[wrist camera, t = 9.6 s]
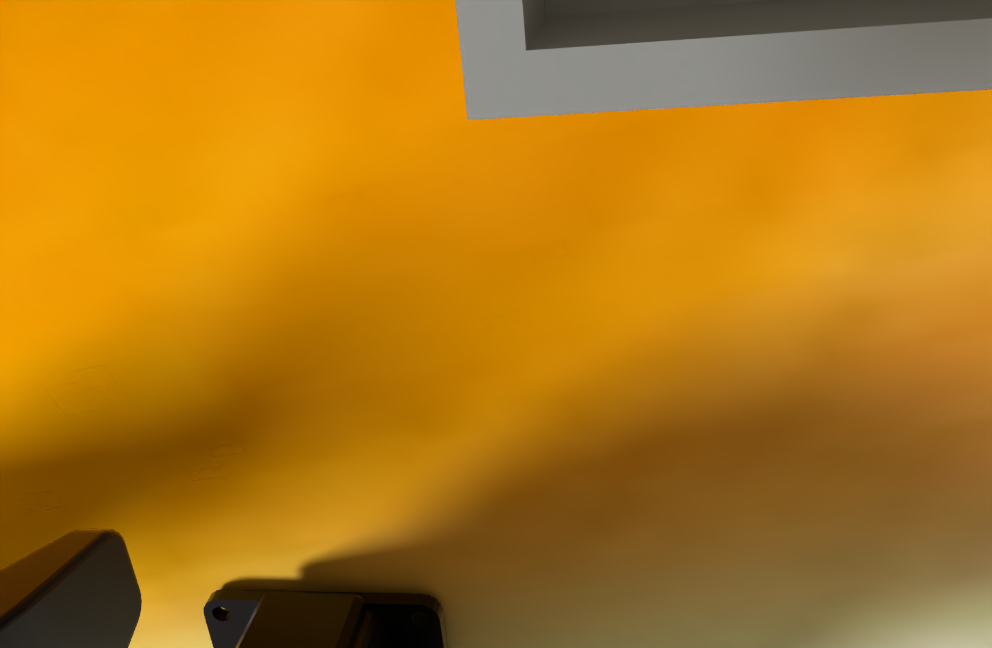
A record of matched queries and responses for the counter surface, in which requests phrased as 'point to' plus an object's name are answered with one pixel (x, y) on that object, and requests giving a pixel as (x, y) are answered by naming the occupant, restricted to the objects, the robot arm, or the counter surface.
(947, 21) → the big crate
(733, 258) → the counter surface
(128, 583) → the robot arm
